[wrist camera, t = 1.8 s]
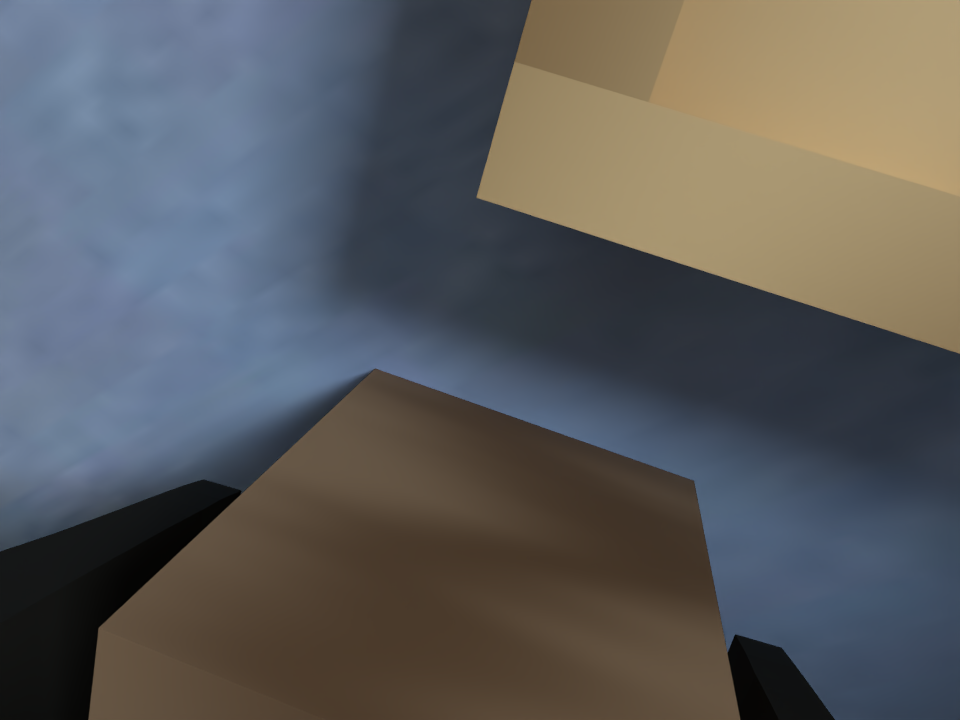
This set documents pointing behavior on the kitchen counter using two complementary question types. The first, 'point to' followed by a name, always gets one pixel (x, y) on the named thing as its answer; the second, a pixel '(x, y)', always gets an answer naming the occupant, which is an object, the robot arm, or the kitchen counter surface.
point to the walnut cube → (430, 583)
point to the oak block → (751, 144)
